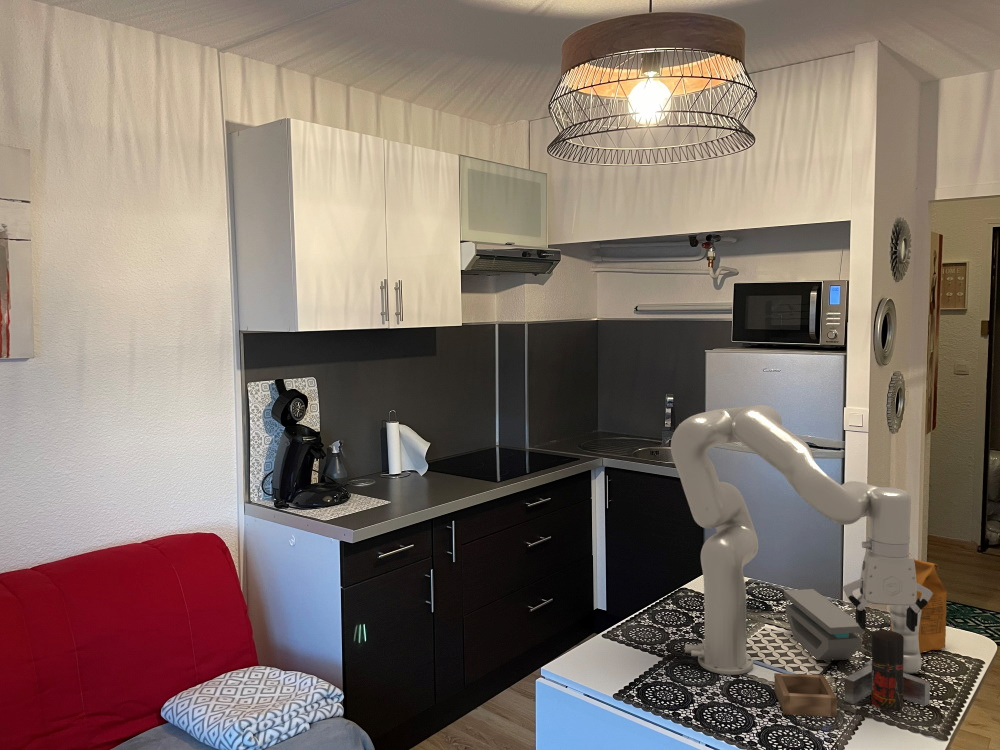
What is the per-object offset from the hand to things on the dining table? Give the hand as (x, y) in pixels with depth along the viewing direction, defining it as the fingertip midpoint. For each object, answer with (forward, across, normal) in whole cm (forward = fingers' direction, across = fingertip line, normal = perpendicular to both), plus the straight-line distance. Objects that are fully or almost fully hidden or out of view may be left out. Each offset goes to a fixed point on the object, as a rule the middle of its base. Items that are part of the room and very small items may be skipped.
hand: (885, 627), depth 166 cm
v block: (+17, +1, +5) cm, 17 cm away
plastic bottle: (+17, +10, +16) cm, 25 cm away
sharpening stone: (+17, -6, +26) cm, 32 cm away
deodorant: (+17, +1, 0) cm, 17 cm away
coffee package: (+17, +18, +32) cm, 41 cm away
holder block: (+17, -16, -2) cm, 23 cm away
